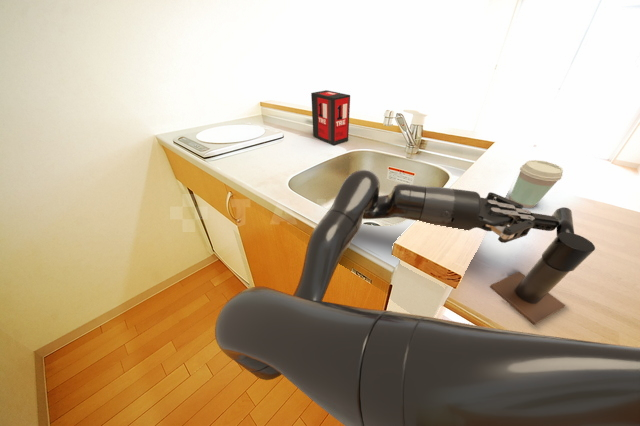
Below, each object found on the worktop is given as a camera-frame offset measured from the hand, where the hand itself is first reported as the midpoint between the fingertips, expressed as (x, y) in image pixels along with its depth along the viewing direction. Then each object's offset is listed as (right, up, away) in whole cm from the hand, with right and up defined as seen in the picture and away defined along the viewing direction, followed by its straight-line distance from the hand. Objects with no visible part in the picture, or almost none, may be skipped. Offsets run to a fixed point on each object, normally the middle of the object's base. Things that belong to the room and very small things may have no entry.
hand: (554, 224), depth 40 cm
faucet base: (-3, -14, +3) cm, 15 cm away
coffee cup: (+17, +4, +26) cm, 32 cm away
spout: (0, -3, 0) cm, 3 cm away
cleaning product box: (-36, +39, +73) cm, 90 cm away
